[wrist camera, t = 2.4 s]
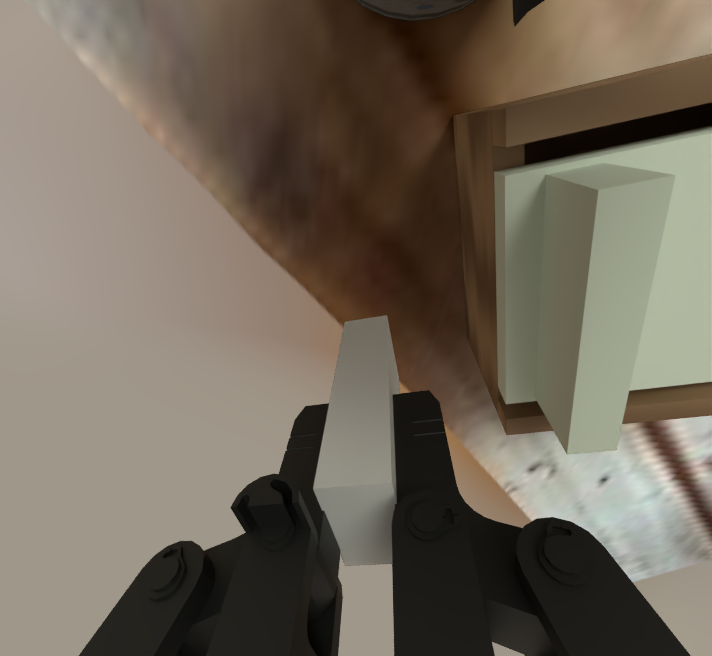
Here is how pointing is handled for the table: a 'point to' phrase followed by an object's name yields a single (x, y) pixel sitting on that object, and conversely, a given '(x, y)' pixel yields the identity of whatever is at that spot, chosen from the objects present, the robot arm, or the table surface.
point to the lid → (604, 280)
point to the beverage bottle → (435, 8)
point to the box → (554, 140)
